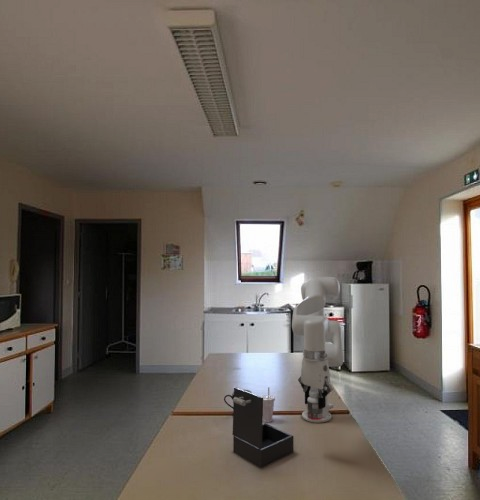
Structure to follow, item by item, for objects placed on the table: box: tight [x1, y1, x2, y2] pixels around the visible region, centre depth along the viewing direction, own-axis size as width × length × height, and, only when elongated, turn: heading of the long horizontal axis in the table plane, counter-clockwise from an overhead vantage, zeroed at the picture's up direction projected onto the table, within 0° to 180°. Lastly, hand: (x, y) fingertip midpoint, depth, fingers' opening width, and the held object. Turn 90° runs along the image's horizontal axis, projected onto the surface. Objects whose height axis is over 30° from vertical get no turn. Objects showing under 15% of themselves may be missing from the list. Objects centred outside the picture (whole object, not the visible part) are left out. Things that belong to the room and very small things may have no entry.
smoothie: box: [260, 386, 276, 423], centre depth 163 cm, size 6×6×14 cm
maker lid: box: [232, 386, 264, 449], centre depth 129 cm, size 16×15×5 cm
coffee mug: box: [223, 388, 253, 409], centre depth 169 cm, size 12×9×10 cm
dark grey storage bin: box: [232, 422, 295, 469], centre depth 135 cm, size 16×15×6 cm
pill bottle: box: [307, 389, 323, 423], centre depth 135 cm, size 5×5×10 cm
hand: (315, 405), depth 135 cm, fingers closed on pill bottle, 5 cm apart
